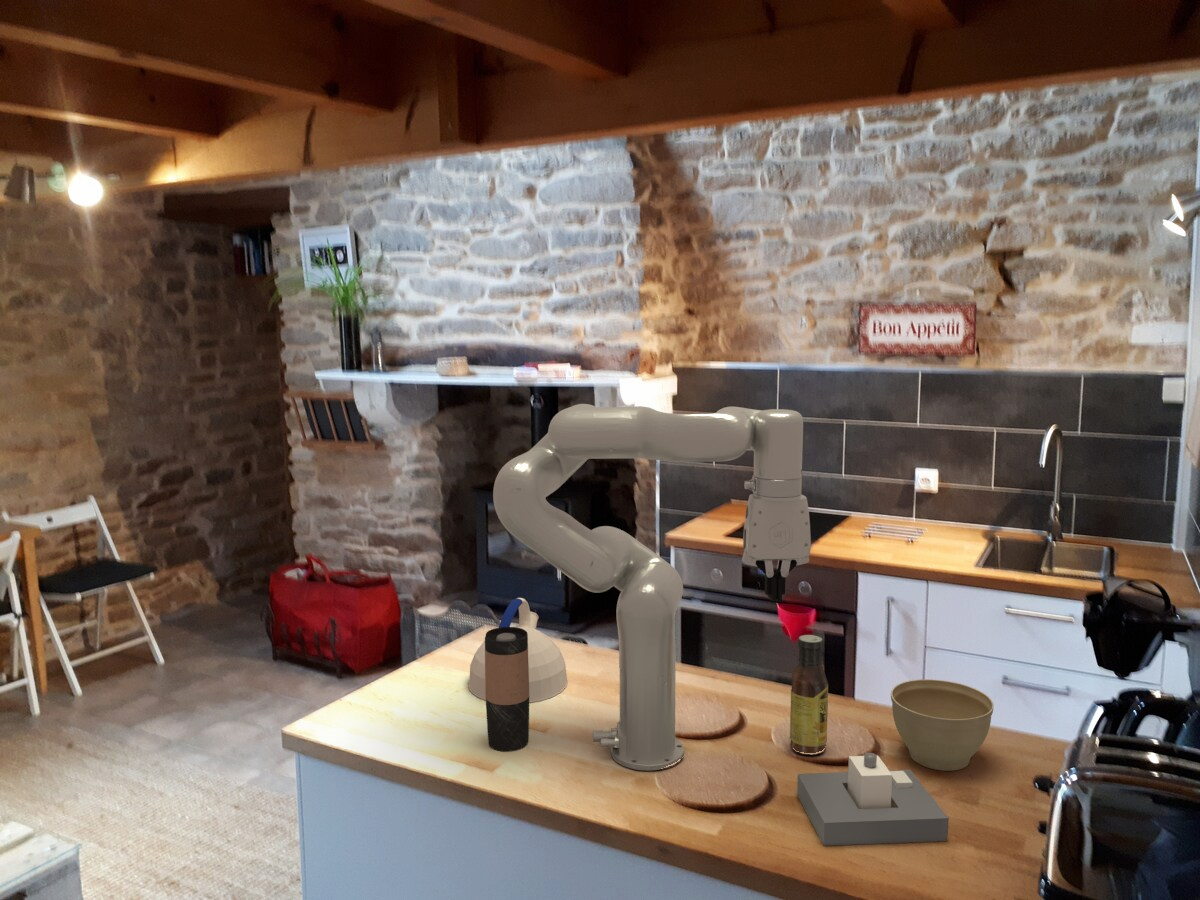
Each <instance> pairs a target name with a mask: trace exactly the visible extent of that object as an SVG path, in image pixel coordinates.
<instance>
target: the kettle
mask: <svg viewBox="0 0 1200 900" xmlns="http://www.w3.org/2000/svg"><path fill="white" fill-rule="evenodd" d="M517 611H518V617H519V620H518V625H516V626H515V627H517V628H521V629H524V630H525V631H526V632H527V634H528V664H529V704H533V703H537V702H543V701H545V700H549V699H551V698H554V697H556V696H558V695H559V694H560V693H562V692H563V691H564V690H565V689H566V687H567V685H568V682H569V681H568V676H567V666H566V665H567V664H566V661H565V658H564V656H563V654H562V652H561V649H560V648H559V647H558V645H557V644H556V643H555V641H553V639H552V638H551V637H549V636H548V635H547V634H544V633H543V632H542V631H540V630H538V629H536V628H537V623H538V620H539V618H540V617H539V615H538V614H537V613H536V612H533V611H531V609H530V606H529V603H528V601H527V600H526V598H523V597H517V598H513V599H512V600H511V601H510V603H508V606H507V607H506V609H505V610H504V613H503V615H502V616H501V617H502V618H501V620H500V623H499V626H498V628H500V627H511V624H512V622H513V619H514V617H515V615H516V613H517ZM468 681H469V682H468V689H469V691H470V692H471V693H472V694H473V695H474V696H476V697H478V698H479V699H481V700H484V701H486V692H485V640H484V641H483V642H482V643H481V644H480V645H479V647H478V648H477V649H476V651H475V653H474V655H473V657H472V660H471V663H470V665H469V680H468ZM564 688H565V689H564Z"/></svg>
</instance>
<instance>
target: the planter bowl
mask: <svg viewBox="0 0 1200 900" xmlns="http://www.w3.org/2000/svg"><path fill="white" fill-rule="evenodd" d="M890 701H891V704H892V705H891V706H892V707H891V708H892V709H891V710H892V715H893V716H892V717H893V720H894V725H895V727H896V730H897V733H898V735H899V736H900V738H901V740H902V741H903V744H905V746H906V747H907V748H908V752H909V756H910V758H911V759H912V761H914V762H916V763H917V764H919V765H921V766H923V767H924V768H929V769H931V770H937V771H945V772H946V771H947V772H949V771H952V772H954V771H959V770H961V769H964V768H966V767H968V765H969V764H970V760H971V758H972V757H973V756H974V755H975V754H976V753H977V752H978V751H979V749H980V748H981V747H982V746H983V744H984V742H985V740H986V739H987V736H988V733H989V730H990V728H991V727H990V726H991V723H992V722H991V721H992V715H993V713H994V702H993V700H992V699H991V697H990V696H988V695H987V694H986V693H984V692H983V691H981V690H979V689H977V688H975V687H972V686H969V685H967V684H963V683H960V682H954V681H949V680H941V679H933V678H932V679H926V678H922V679H912V680H907V681H902V682H900V683H899V684H896V685H895V686H894V687H893V688H892V690H891V691H890Z"/></svg>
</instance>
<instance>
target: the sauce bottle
mask: <svg viewBox="0 0 1200 900" xmlns="http://www.w3.org/2000/svg"><path fill="white" fill-rule="evenodd" d="M797 643H798V649H799V653H798V654H799V655H798V656H799V658H798V665H797V666H796V668H794V670H793V672H792V675H791V689H790V715H789V716H790V722H789V739H790V744H789V745H790V748H791V747H792V748H794V749H795V750H796V751H799V752H804V753H816V752H819V751H822V750H823V749H824V748H825V746H827V742H828V736H827V735H828V716H829V715H828V714H829V713H828V710H829V705H828V703H829V700H828V699H829V683H828V679H827V676H826V673H825V670H824V666H823V664H822V663H823V661H822V648H823V646H824V643H823V638H822V637H821V636H817V635H813V634H804V635H800V636H799V637H798V642H797ZM792 748H791V749H792ZM825 749H826V748H825Z"/></svg>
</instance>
